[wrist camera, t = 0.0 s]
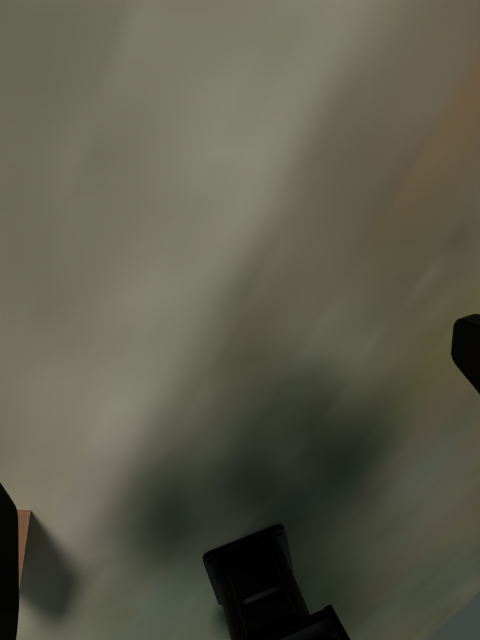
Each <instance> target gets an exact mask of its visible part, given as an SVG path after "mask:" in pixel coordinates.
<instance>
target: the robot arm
mask: <svg viewBox="0 0 480 640" xmlns="http://www.w3.org/2000/svg"><path fill="white" fill-rule="evenodd" d="M451 355H452V359H453V361H454V363H455V364H456V366H457V367H458V368H459V369H460V371H461V372H462V373H463V374H464V376H465V377H466V378H467V379H468V380H469V382H470V383H471V384H472V385H473V386H474V388H475V389H476V390H477V391H478V392H479V394H480V314H472V315H469V316H466V317H463V318H460V319H458V320H456V322H455V323H454V326H453V336H452V347H451ZM203 562H204V565H205V568H206V571H207V573H208V576H209V579H210V582H211V584H212V587H213V590H214V593H215V595H216V598H217V601H218V603H219V604H220V605H222V606H223V610H224V614H225V618H226V622H227V626H228V630H229V634H230V638H231V640H350V638H349V636H348V635H347V633H346V631H345V629H344V627H343V626H342V624H341V622H340V620H339V618H338V616H337V615H336V613H335V611H334V609H333V607H332V606H331V605H328V606H326V607H324V609H323V610H321V611H318V612H316V613H314V614H312V615H310V613H309V611H308V609H307V606H306V604H305V601H304V599H303V597H302V594H301V592H300V589H299V587H298V585H297V582H296V580H295V577H294V575H293V569H292V564H291V558H290V553H289V548H288V543H287V537H286V532H285V530H284V527H283V526H282V525H278V526H275V527H272V528H270V529H267V530H265V531H262V532H260V533H257V534H255V535H252V536H249V537H247V538H244V539H242V540H239V541H237V542H234V543H232V544H229V545H227V546H224V547H222V548H219V549H217V550H214V551H211V552H209V553H207V554H205V555H204V556H203ZM18 613H19V530H18V512H17V509H16V506H15V504H14V502H13V501H12V499H11V498H10V496H9V495H8V493H7V492H6V490H5V489H4V487H3V486H2V484H1V483H0V640H16V635H17V625H18Z"/></svg>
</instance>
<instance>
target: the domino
mask: <svg viewBox="0 0 480 640" xmlns="http://www.w3.org/2000/svg"><path fill="white" fill-rule="evenodd" d="M30 511H31V510H17V512H18V530H19V589H20V582H21V575H22V568H23V561H24V554H25V547H26V540H27V533H28V526H29V518H30Z"/></svg>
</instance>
